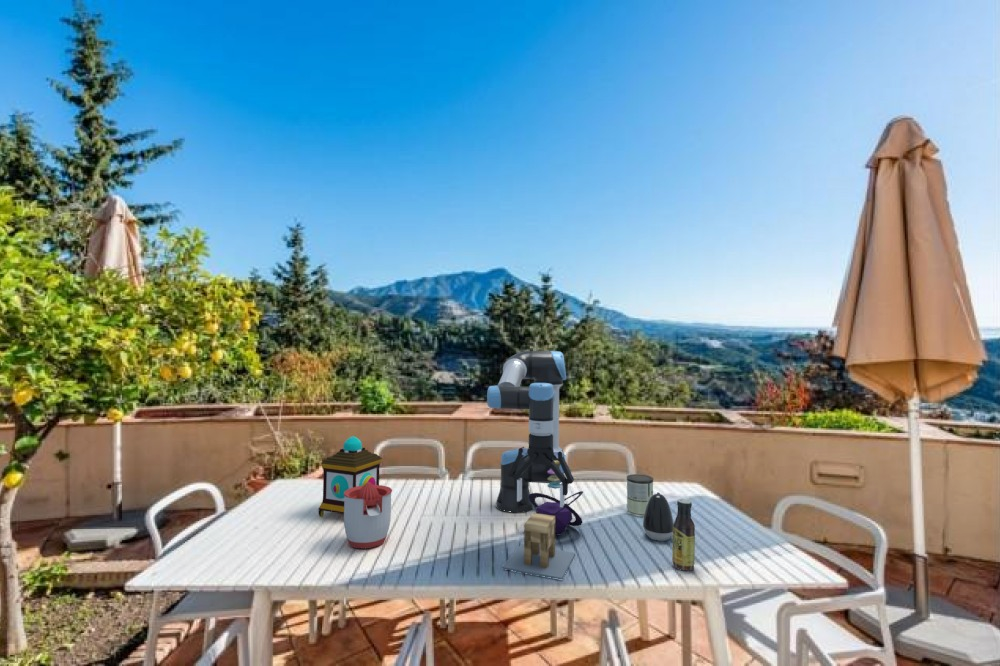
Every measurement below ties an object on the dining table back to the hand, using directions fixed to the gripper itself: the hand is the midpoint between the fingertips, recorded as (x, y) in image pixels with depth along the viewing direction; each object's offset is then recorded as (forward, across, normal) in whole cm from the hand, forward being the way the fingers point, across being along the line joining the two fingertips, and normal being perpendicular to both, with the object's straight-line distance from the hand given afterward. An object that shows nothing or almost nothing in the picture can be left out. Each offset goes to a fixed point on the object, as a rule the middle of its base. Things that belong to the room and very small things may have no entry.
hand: (540, 502), depth 145 cm
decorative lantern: (+19, -81, +13) cm, 84 cm away
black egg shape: (+18, +33, +33) cm, 50 cm away
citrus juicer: (+18, -57, -9) cm, 60 cm away
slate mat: (+18, 0, -1) cm, 18 cm away
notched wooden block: (+17, 0, -1) cm, 17 cm away
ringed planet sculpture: (+18, -2, +25) cm, 31 cm away
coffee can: (+19, +25, +58) cm, 66 cm away
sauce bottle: (+18, +41, +12) cm, 47 cm away
